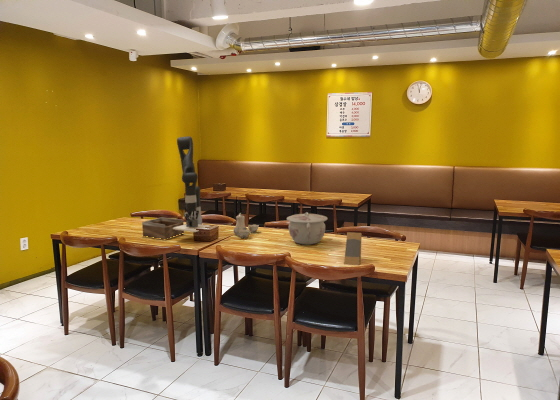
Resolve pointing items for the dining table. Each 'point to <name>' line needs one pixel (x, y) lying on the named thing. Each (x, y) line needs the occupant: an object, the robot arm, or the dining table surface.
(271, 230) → the dining table surface
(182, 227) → the lid
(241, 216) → the chinaware
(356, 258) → the sandwich container
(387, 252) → the dining table surface
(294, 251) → the dining table surface
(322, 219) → the chamber pot
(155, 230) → the box
